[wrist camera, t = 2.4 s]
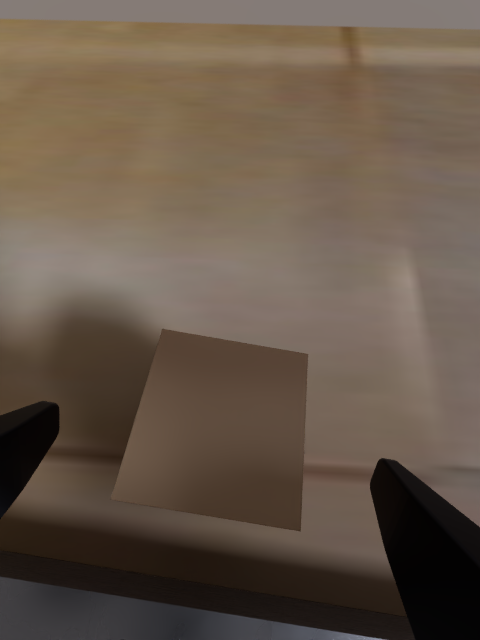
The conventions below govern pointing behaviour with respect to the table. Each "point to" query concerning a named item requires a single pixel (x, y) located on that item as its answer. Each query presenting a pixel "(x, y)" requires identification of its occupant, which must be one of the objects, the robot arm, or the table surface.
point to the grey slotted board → (164, 608)
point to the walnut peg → (219, 432)
